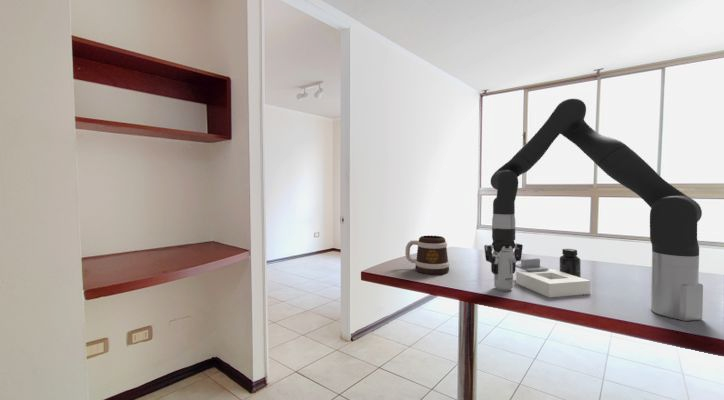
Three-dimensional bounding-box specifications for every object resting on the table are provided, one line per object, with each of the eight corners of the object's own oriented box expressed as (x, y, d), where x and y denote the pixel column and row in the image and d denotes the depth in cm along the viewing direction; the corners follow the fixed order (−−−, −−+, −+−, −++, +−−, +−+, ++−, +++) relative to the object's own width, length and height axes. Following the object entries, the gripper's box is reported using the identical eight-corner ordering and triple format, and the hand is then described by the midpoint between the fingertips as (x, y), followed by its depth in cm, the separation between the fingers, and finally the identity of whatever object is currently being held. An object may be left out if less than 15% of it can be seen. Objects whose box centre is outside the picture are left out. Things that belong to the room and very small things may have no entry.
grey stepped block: (548, 270, 116) (548, 260, 116) (528, 271, 115) (529, 261, 114) (532, 265, 124) (532, 256, 124) (513, 266, 123) (513, 257, 123)
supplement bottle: (574, 277, 123) (574, 248, 122) (584, 283, 116) (585, 251, 115) (555, 277, 123) (556, 248, 123) (565, 282, 116) (565, 251, 116)
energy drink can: (510, 292, 105) (510, 249, 105) (491, 289, 109) (492, 247, 109) (514, 288, 110) (515, 247, 109) (497, 285, 114) (497, 245, 113)
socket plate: (590, 293, 103) (590, 280, 103) (549, 297, 100) (549, 283, 100) (552, 280, 119) (552, 269, 119) (516, 283, 116) (516, 271, 116)
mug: (452, 268, 139) (452, 235, 138) (445, 277, 125) (445, 240, 125) (410, 264, 148) (410, 233, 148) (399, 271, 135) (399, 237, 134)
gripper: (514, 225, 114) (514, 269, 114) (479, 226, 111) (479, 272, 112) (528, 227, 107) (528, 275, 107) (491, 228, 104) (491, 277, 104)
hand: (503, 273), depth 109 cm, fingers closed on energy drink can, 6 cm apart
